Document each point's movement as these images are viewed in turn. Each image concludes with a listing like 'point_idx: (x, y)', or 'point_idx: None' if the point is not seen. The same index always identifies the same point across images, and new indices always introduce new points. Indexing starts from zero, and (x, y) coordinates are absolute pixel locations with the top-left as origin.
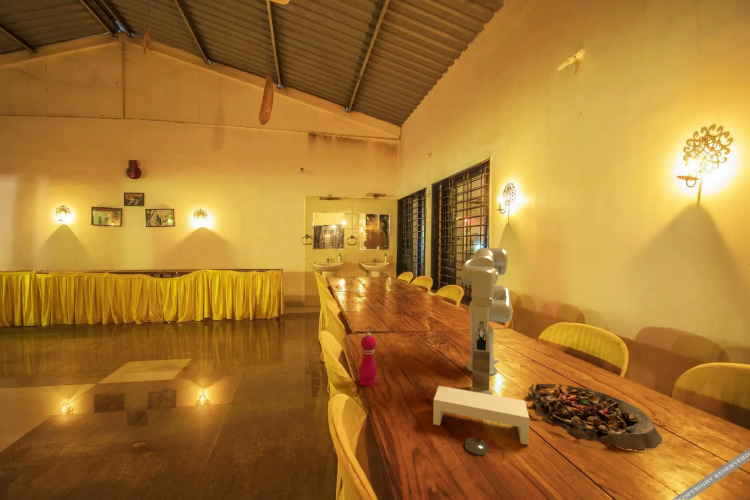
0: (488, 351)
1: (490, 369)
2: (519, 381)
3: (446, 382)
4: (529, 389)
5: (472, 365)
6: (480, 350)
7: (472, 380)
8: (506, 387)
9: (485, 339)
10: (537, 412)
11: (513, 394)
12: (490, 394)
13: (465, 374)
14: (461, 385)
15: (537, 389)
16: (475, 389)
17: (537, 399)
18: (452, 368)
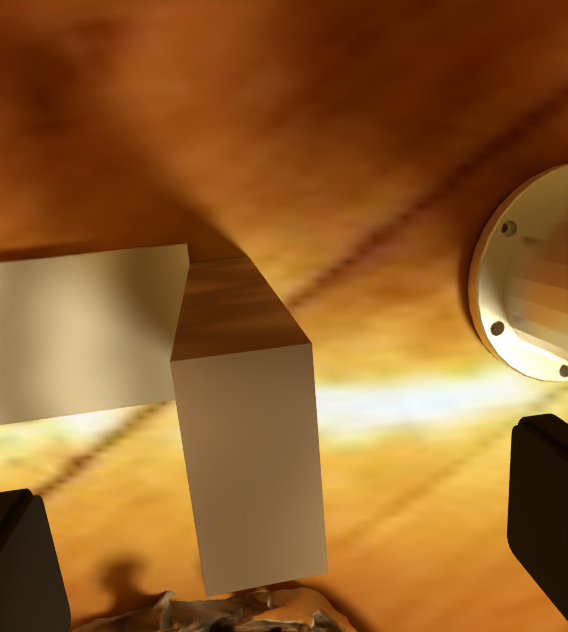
0: (242, 573)
1: (537, 350)
2: (462, 508)
3: (215, 43)
4: (242, 624)
5: (553, 216)
6: (229, 468)
7: (188, 273)
8: (338, 455)
9: (538, 582)
10: (86, 625)
11: None
12: (142, 394)
13: (441, 172)
14: (220, 175)
15: (327, 628)
16: (167, 291)
17: (225, 622)
18: (524, 45)
